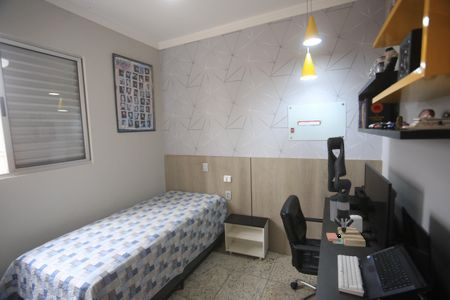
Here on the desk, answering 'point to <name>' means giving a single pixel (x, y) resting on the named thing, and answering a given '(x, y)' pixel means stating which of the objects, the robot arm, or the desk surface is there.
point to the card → (332, 237)
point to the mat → (339, 241)
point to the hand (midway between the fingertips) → (343, 232)
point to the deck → (351, 237)
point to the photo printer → (356, 222)
